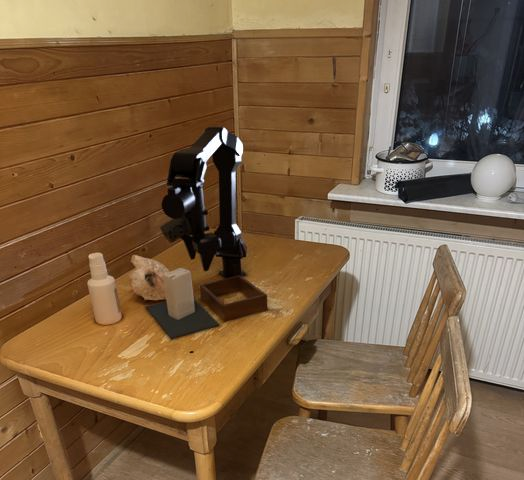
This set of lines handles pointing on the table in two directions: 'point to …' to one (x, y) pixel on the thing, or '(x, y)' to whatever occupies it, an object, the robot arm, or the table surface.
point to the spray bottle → (103, 292)
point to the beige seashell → (148, 278)
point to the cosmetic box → (179, 293)
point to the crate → (235, 309)
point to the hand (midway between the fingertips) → (199, 265)
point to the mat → (181, 320)
